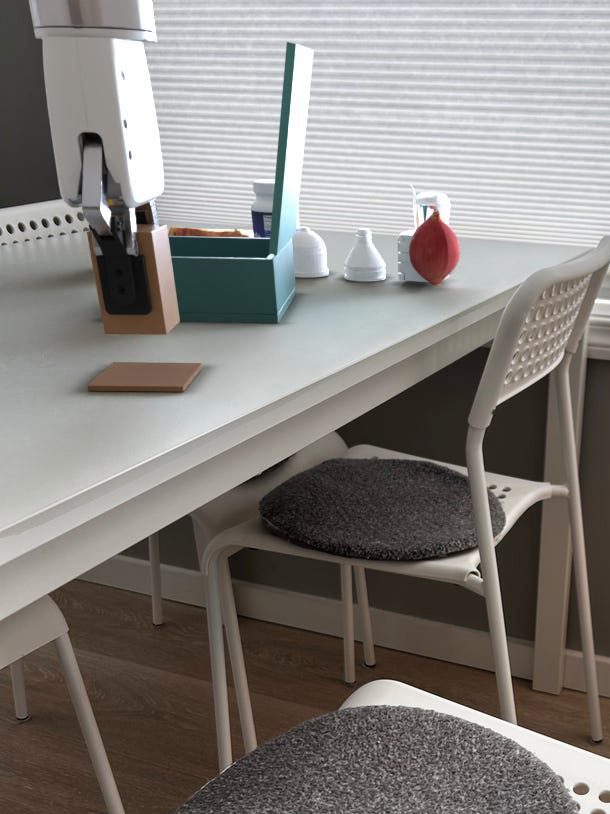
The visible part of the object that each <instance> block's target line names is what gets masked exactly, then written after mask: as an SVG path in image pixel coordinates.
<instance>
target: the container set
mask: <svg viewBox="0 0 610 814" xmlns="http://www.w3.org/2000/svg"><path fill="white" fill-rule="evenodd" d="M415 231H416V230H415V229H408V230H405V231H403V232H400V233H398V236H397V272H398V273H397V277H398V279H399V280H400V281H407V282H419V283H421V282H422V283H429V282H428V281H427V280H425V279H424V278H423V277H422V276H421V275H419V274H418V272H417V271H416V270H415V269H414V267H413V266H412V264H411V262H410V257H409V246H410V242H411V239H412V236H413V234H414V232H415ZM292 245H293V259H294V274H295V278H308V279H309V278H320V277H321V278H322V277H326V276H329V268H328V265H327V263H328V262H327V247H326V244H325V242H324V241H323V239H322V238H321V236H320V235H318V234H317V233H316V232H315V231H312V230H310V228H309V227H308V226H300V230H299V231H297V232H296V234H295V235H294V236H293V238H292ZM343 267H344V268H343V273H344V275H343V277H344V279H345V280H348V281H352V282H379V281H384V280H385V279H386V263H385V261H384V259H383V258H382V257H381V255H380V253H379V252H378V250H377V248H376V247H375V245H374V243H372V231H371V230H370V228H368V227H359V228H357V230H356V231H355V244H354V245H353V246H352V249H351V250H350V252H349V254H348V256H347V257H346V259H345V261H344V262H343ZM449 277H450V274H449V275H448V276H447V277H446V278H445V279H444V280H446V279H448V278H449Z"/></svg>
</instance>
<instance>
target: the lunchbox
mask: <svg viewBox="0 0 610 814" xmlns="http://www.w3.org/2000/svg"><path fill="white" fill-rule="evenodd" d="M168 238H169V245H170V252H171V260H172V267H173V274H174V281H175V289H176V296H177V303H178V311H179V318H180V322H181V323H182V322H184V323H186V322H187V323H243V324H244V323H245V324H246V323H247V324H251V323H252V324H253V323H254V324H278V323H279V322H280V321H281V319H282V317H283V316H284V315H285V314H286V311H287V310H288V308H289V306H290V305H291V303H292V301H293V300H294V298H295V297H296V295H297V289H296V277H295V274H294V259H293V245H292V239H291V240H290V241H289V242H288V243H287V244H286V245H285V247H284V248H283V249H282V250H281V251H280V252H279V253H278V254H277V255H274V254H269V244H270V238H253V237H204V236H168ZM180 322H179V323H180Z"/></svg>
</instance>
